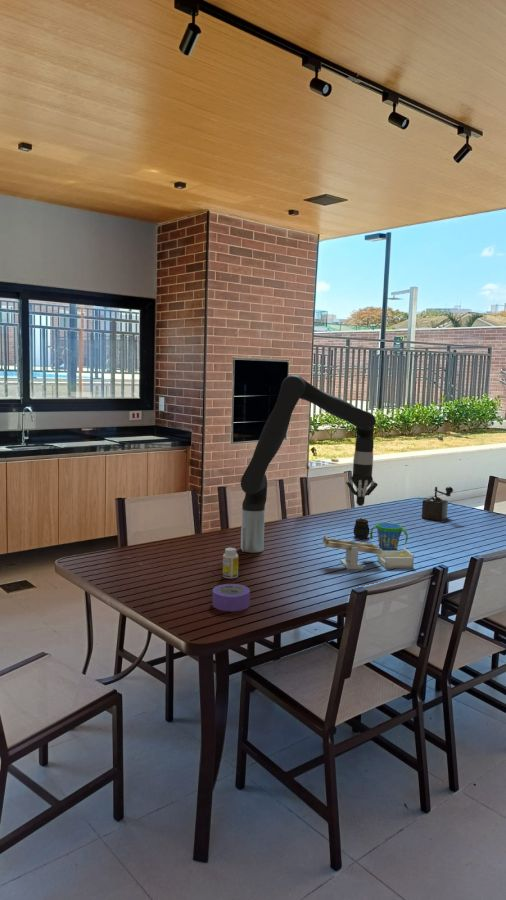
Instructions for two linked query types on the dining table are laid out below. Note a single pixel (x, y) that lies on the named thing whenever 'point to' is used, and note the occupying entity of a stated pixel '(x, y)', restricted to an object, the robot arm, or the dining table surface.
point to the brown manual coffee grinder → (436, 506)
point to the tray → (396, 559)
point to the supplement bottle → (230, 563)
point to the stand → (351, 559)
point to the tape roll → (231, 597)
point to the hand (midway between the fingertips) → (360, 505)
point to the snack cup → (389, 535)
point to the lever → (352, 545)
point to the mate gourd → (361, 528)
